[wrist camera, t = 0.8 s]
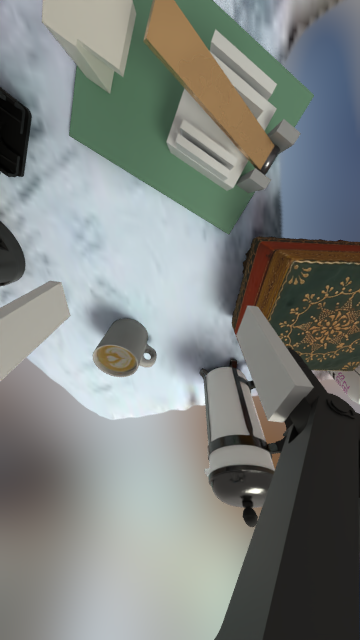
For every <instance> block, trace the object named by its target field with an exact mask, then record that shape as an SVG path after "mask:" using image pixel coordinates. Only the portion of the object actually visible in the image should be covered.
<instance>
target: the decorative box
mask: <svg viewBox="0 0 360 640" xmlns="http://www.w3.org/2000/svg"><path fill="white" fill-rule="evenodd" d="M245 255H246V260H245V261H244V262H243V267H244V270H243V274H244V276H243V280H242V283H241V288H240V293H239V294H238V298H237V301H236V308H235V310H234V312H233V317H232V327H233V329H234V332H235V334H236V335H237V332H238V329H239V327H240V324H241V321H242V319H243V316H244V314H245V311H246V308H247V306H256V307H259V309H260V310H261V312H262V313H263V315H264V316H265V318H266V319H267V320H268V322H269V323H270V325H271V326H272V328H273V329H274V330H275V332H276V333H277V335H278V336H279V338H280V339H281V341H282V342H283V343H284V345H285V346H286V347H290V348H292V349H293V350H294V351H295V352H297V353H298V354H299V355H300V356H301V358H302V359H303V360H304V363H306V364H307V366H308V367H309V369H310V370H323V371H327V370H330V371H353V370H355V369H356V368H357V367H358V366H359V365H360V242H348V241H343V240H338V241H325V240H321V239H319V240H307V239H289V238H276V237H256V238H254V239H253V241H252V244H251V248H250V249H249V251H248V252H247V253H246V254H245ZM236 337H237V336H236ZM237 340H238V339H237ZM239 345H240V344H239ZM240 348H241V347H240ZM242 353H243V352H242ZM243 356H244V355H243ZM245 361H246V360H245Z"/></svg>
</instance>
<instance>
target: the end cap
mask: <svg viewBox="0 0 360 640" xmlns="http://www.w3.org/2000/svg"><path fill="white" fill-rule="evenodd" d="M31 118H32V116H31V112H30V111H29V110H28V109H27V108H26V107H25V106H24V105H22V104H21V103H20V102H19V101H17V100H16V99H15V98H13V97H12V96H11V95H10V94H8V93H7V92H6V91H5V90H3V89H2V88H1V87H0V171H1V172H2V173H4V174H5V175H7V176H8V177H16V176H19V177H23V176H24V171H25V163H26V156H27V148H28V141H29V133H30V126H31Z"/></svg>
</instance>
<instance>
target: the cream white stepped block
mask: <svg viewBox="0 0 360 640" xmlns="http://www.w3.org/2000/svg"><path fill="white" fill-rule="evenodd" d="M135 18H136V11H135V7H134V4H133V0H43V9H42V23H43V24H44V25H45V26H46V28H47V29H48V30H49V31H50V32H51V34H52V35H53V36H54V37H55V39H56V40H57V41H58V42H59V44H60V45H61V46H62V47H63V49H64V50H65V51H66V52H67V54H68V55H69V56H70V57H71V58H72V60H73V61H74V62H75V63H76V65H77V66H78V67H79V68H80V70H81V71H82V72H83V73H84V75H85V76H86V77H87V78H88V79H90V80H91V81H92V82H94V83H95V84H97V85H98V86H99V87H101V88H102V89H104V90H105V91H107V92H108V93H109V94H110V92H111V86H112V81H113V75H114V71H115V72H116V73H118V74H119V75H121V76H122V77H123V76H124V71H125V67H126V62H127V57H128V52H129V47H130V42H131V37H132V33H133V28H134V23H135Z"/></svg>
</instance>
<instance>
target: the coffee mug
mask: <svg viewBox="0 0 360 640" xmlns="http://www.w3.org/2000/svg"><path fill="white" fill-rule="evenodd" d="M147 339H148V333H147V331H146V329H145V327H144V326H143V325H142V324H141V323H139V322H138V321H136V320H133V319H128V318H123V319H119V320H117V321H115V322H114V323H113V324H112V325H111V327H110V328H109V330H108V331H107V333H106V334H105V336H104V337H103V339H102V340H101V342H100V343H99V345H98V346H97V348H96V349H95V351H94V353H93V361H94V363H95V365H96V366H97V367H98V368H99V369H100V370H101V371H103V372H104V373H106V374H109V375H111V376H116V377H126V376H130V375H132V374H134V373H135V372H136V370H137V369H138V366H139V365H140V366H143V367H151V366H152V365H153V364H154V363H155V361H156V356H157V355H156V351H155V350H154V349H153V348H152V347H150V346H149V345H148V344H147ZM144 353H149V354H150V355H151V359H150V360H146V359H145V358H144V356H143V355H144Z"/></svg>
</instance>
